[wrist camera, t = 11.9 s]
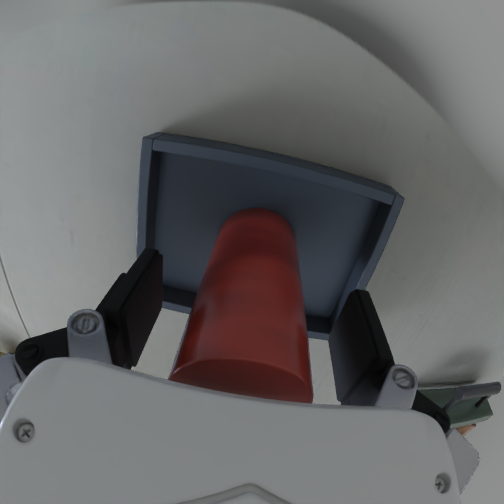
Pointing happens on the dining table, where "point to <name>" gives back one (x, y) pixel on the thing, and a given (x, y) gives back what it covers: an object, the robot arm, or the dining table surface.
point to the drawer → (465, 404)
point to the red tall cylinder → (249, 315)
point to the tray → (267, 197)
